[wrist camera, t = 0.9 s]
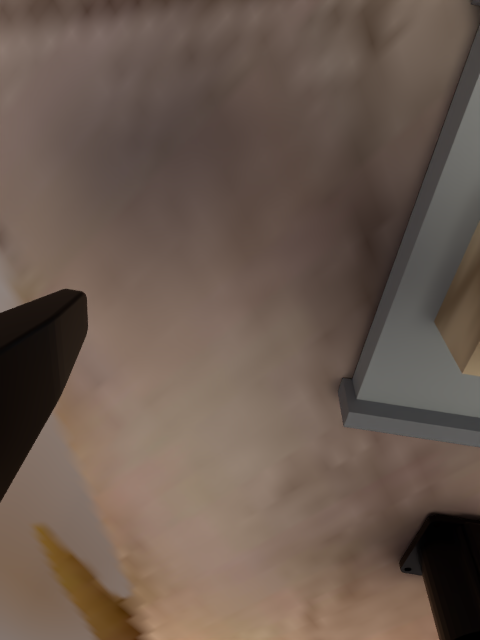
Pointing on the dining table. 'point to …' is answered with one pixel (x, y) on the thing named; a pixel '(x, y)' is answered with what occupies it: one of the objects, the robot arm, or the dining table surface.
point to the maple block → (463, 311)
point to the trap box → (426, 296)
